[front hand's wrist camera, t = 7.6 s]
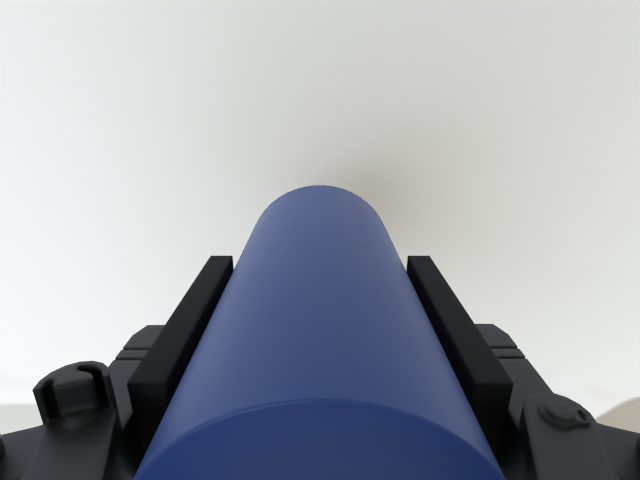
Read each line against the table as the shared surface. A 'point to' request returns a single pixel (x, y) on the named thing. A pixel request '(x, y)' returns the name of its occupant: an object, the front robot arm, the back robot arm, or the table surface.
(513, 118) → the table surface
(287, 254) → the can
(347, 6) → the table surface
